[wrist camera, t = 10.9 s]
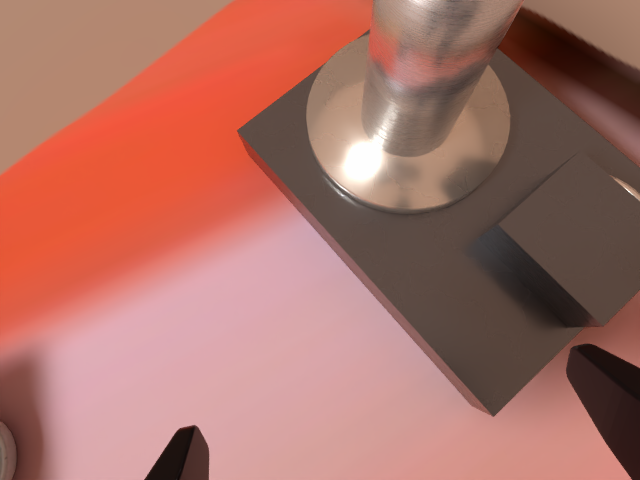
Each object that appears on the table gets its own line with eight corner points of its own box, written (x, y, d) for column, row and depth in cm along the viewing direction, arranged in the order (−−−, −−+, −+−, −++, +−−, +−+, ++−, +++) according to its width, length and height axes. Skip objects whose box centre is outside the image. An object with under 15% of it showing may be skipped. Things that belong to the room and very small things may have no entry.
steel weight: (468, 141, 20) (701, -206, 7) (378, 168, 20) (456, -137, 7) (433, 64, 22) (581, -350, 9) (348, 89, 22) (368, -294, 8)
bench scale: (651, 231, 23) (748, 198, 17) (471, 405, 21) (518, 430, 16) (415, 24, 27) (435, -54, 22) (248, 154, 25) (224, 104, 20)
